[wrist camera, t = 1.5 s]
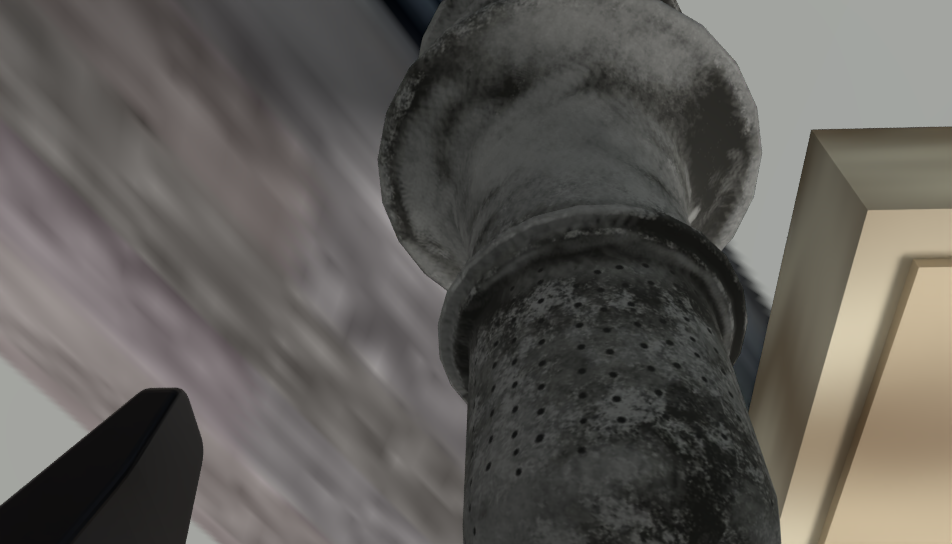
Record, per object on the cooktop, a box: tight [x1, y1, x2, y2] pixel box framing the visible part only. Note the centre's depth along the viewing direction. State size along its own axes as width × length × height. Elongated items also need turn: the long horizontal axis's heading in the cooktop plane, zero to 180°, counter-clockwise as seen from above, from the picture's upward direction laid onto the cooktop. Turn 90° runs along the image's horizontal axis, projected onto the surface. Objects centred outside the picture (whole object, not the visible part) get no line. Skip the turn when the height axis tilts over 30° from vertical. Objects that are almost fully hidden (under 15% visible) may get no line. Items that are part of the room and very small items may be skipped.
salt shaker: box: [378, 0, 781, 544], centre depth 11 cm, size 6×6×12 cm
